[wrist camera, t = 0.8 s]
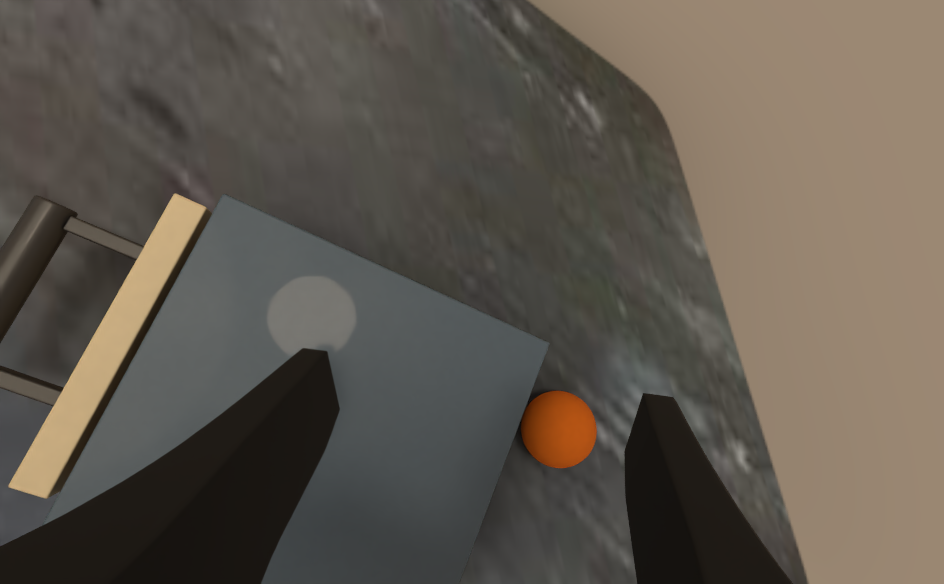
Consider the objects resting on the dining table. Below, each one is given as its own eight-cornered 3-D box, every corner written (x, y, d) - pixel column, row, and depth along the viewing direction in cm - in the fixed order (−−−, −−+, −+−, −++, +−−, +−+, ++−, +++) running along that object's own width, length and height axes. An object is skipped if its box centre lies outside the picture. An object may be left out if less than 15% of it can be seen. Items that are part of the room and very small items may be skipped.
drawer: (-23, 405, 21) (-170, 433, 15) (110, 183, 23) (29, 127, 17) (361, 534, 24) (368, 598, 18) (446, 331, 26) (478, 329, 20)
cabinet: (138, 467, 23) (36, 533, 15) (257, 237, 25) (222, 192, 17) (405, 556, 26) (435, 650, 18) (491, 341, 28) (550, 342, 20)
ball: (529, 471, 28) (560, 492, 24) (498, 408, 28) (524, 420, 24) (585, 435, 29) (623, 450, 25) (556, 375, 29) (590, 380, 25)
